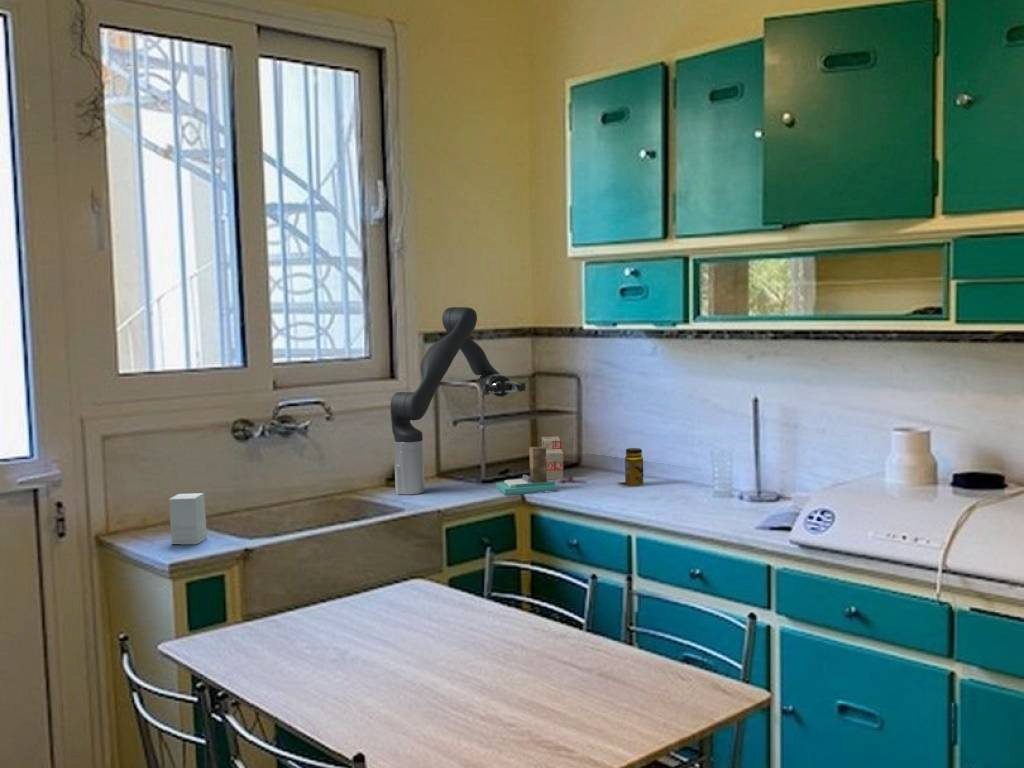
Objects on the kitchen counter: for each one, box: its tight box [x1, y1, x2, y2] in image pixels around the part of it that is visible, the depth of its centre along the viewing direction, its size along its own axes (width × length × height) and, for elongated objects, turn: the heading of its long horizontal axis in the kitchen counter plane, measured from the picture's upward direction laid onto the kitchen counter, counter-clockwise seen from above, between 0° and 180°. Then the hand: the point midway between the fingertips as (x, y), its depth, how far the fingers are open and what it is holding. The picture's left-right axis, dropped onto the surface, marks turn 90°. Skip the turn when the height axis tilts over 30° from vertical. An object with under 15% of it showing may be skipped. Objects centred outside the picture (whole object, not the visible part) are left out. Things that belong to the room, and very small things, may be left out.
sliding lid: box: [504, 474, 532, 487], centre depth 331 cm, size 8×8×2 cm
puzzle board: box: [495, 477, 557, 496], centre depth 331 cm, size 17×12×3 cm
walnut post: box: [528, 445, 548, 483], centre depth 332 cm, size 4×4×13 cm
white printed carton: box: [541, 435, 564, 480], centre depth 360 cm, size 21×6×12 cm, turn 2°
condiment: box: [616, 447, 647, 488], centre depth 336 cm, size 7×8×12 cm
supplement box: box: [168, 492, 208, 545], centre depth 272 cm, size 7×7×13 cm
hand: (509, 389), depth 345 cm, fingers open, 8 cm apart
